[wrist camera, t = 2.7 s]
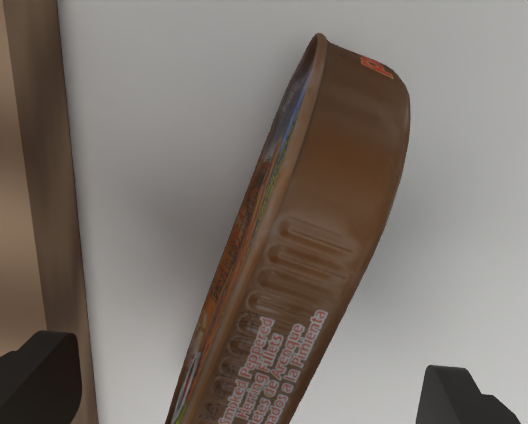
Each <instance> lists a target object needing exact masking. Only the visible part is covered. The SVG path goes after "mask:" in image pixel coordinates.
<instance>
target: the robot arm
mask: <svg viewBox="0 0 528 424" xmlns="http://www.w3.org/2000/svg"><path fill="white" fill-rule="evenodd" d="M81 398H82V378H81V368H80V358H79V348H78V340H77V337H76V335H75V334H74V333H68V332H57V331H45V330H40V331H38V332H36V333H35V334H34V335H33V336H32V337H31V338H30V339H29V340H28V341H26V342H25V343H24V344H23V345H22V346H21V347H20V348H19V349H18V350H17V351H10V352H8V353H6V354H5V355H3V356H1V357H0V424H70V423H71V422H72V420H73V419H74V417H75V416H76V413H77V411H78V409H79V406H80V403H81ZM416 424H521V423H520V422H519V420H518V418H517V417H516V415H515V414H514V413H513V412H511V411H510V410H509V409H508V408H507V407H506V406H505V405H504V404H502V403H501V402H500V401H499V400H498V399H497V398H496V397H494V396H493V395H485V394H481V392H480V390H479V389H478V387H477V385H476V383H475V382H474V380H473V378H472V376H471V375H470V373H469V372H468V370H467V369H465V368H458V367H447V366H435V365H429V366H428V367H427V369H426V371H425V376H424V381H423V386H422V391H421V397H420V402H419V407H418V412H417V418H416Z"/></svg>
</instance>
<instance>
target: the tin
mask: <svg viewBox="0 0 528 424" xmlns="http://www.w3.org/2000/svg"><path fill="white" fill-rule="evenodd" d="M409 131H410V98H409V94H408V91H407V88H406V86H405V84H404V83H403V82H402V80H401V79H400V78H399V76H398V75H397V74H396V73H395V72H394V71H393V70H392V69H390V68H389V67H387V66H386V65H383V64H381V63H379V62H377V61H375V60H372V59H370V58H367V57H364V56H362V55H359V54H356V53H354V52H351V51H349V50H346V49H344V48H341V47H339V46H337V45H334V44H332V43H330V42H328V40H327V39H326V37H325V36H324V35H323V34H321V33H317V34H315V36H314V37H313V38H312V40H311V41H310V43H309V45H308V47H307V49H306V51H305V53H304V55H303V57H302V59H301V61H300V63H299V65H298V67H297V69H296V71H295V73H294V74H293V76H292V78H291V80H290V82H289V85H288V87H287V89H286V91H285V93H284V96H283V98H282V101H281V103H280V106H279V108H278V111H277V113H276V116H275V118H274V121H273V123H272V127H271V130H270V132H269V134H268V137H267V139H266V142H265V144H264V147H263V149H262V152H261V155H260V157H259V160H258V162H257V165H256V168H255V171H254V173H253V176H252V178H251V181H250V183H249V186H248V189H247V192H246V194H245V197H244V200H243V202H242V205H241V208H240V210H239V213H238V215H237V218H236V221H235V223H234V226H233V229H232V231H231V234H230V236H229V239H228V242H227V244H226V247H225V250H224V252H223V255H222V257H221V260H220V263H219V265H218V268H217V271H216V273H215V276H214V278H213V281H212V284H211V287H210V289H209V292H208V295H207V297H206V300H205V303H204V305H203V308H202V311H201V314H200V317H199V321H198V323H197V325H196V328H195V331H194V334H193V337H192V339H191V342H190V345H189V348H188V351H187V355H186V358H185V360H184V364H183V367H182V370H181V373H180V376H179V379H178V383H177V386H176V389H175V392H174V395H173V399H172V402H171V405H170V409H169V413H168V416H167V419H166V422H165V424H289V423H290V421H291V419H292V417H293V415H294V413H295V411H296V409H297V407H298V405H299V403H300V401H301V399H302V398H303V396H304V394H305V392H306V389H307V387H308V385H309V383H310V381H311V379H312V377H313V375H314V374H315V372H316V370H317V368H318V366H319V364H320V362H321V360H322V358H323V355H324V353H325V351H326V349H327V347H328V345H329V343H330V341H331V339H332V337H333V336H334V334H335V331H336V329H337V327H338V325H339V323H340V321H341V319H342V317H343V315H344V314H345V312H346V309H347V307H348V304H349V303H350V301H351V299H352V297H353V295H354V293H355V291H356V289H357V287H358V285H359V283H360V281H361V279H362V277H363V275H364V273H365V271H366V269H367V266H368V264H369V262H370V260H371V258H372V256H373V254H374V251H375V249H376V247H377V244H378V242H379V240H380V237H381V235H382V233H383V230H384V228H385V225H386V222H387V219H388V217H389V214H390V211H391V208H392V205H393V202H394V199H395V195H396V192H397V189H398V186H399V183H400V179H401V176H402V172H403V167H404V162H405V157H406V152H407V147H408V141H409Z"/></svg>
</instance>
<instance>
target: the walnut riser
mask: <svg viewBox="0 0 528 424" xmlns="http://www.w3.org/2000/svg"><path fill="white" fill-rule="evenodd" d="M40 330H45V331H57V332H68V333H74V334H75V335H76V337H77V340H78V348H79V358H80V368H81V378H82V398H81V403H80V406H79V409H78V411H77V413H76V416H75V417H74V419H73V420H72V422H71V423H70V424H98V417H97V407H96V397H95V387H94V377H93V367H92V357H91V347H90V336H89V326H88V316H87V306H86V296H85V286H84V276H83V265H82V255H81V245H80V235H79V225H78V215H77V205H76V194H75V184H74V174H73V164H72V154H71V144H70V134H69V124H68V113H67V103H66V93H65V83H64V73H63V63H62V53H61V42H60V32H59V22H58V12H57V2H56V0H0V357H1V356H3V355H5V354H6V353H8V352H10V351H17V350H18V349H19V348H20V347H21V346H22V345H23V344H24V343H25V342H26V341H28V340H29V339H30V338H31V337H32V336H33V335H34V334H35V333H36V332H38V331H40Z"/></svg>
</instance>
